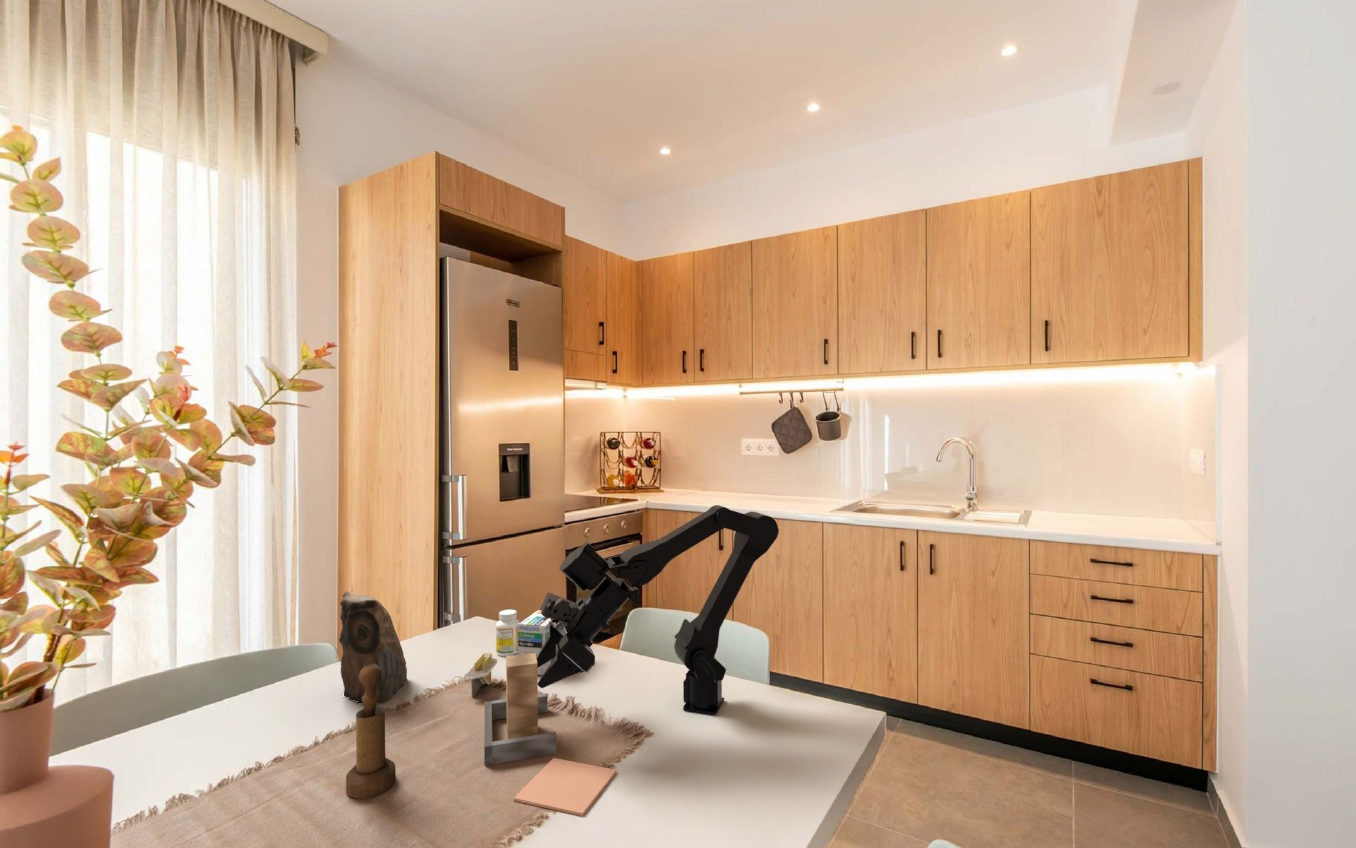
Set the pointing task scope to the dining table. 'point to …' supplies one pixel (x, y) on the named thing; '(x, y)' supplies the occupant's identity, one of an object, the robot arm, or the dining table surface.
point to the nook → (516, 746)
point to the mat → (566, 786)
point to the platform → (481, 672)
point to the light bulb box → (534, 637)
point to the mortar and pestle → (370, 743)
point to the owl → (369, 647)
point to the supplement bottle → (507, 633)
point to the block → (522, 695)
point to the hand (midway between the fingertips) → (537, 675)
